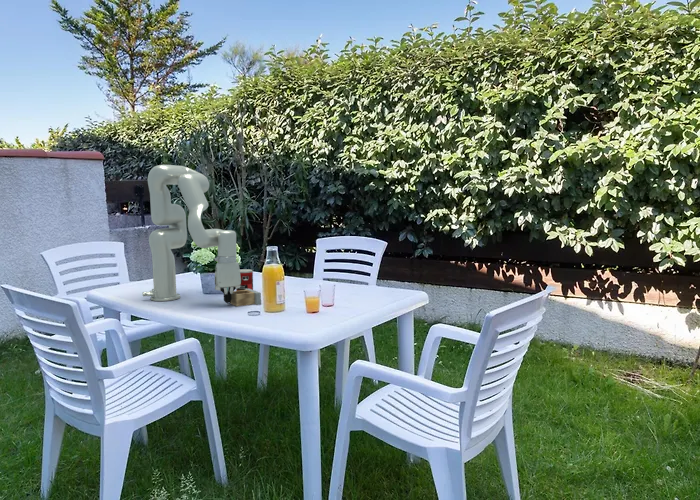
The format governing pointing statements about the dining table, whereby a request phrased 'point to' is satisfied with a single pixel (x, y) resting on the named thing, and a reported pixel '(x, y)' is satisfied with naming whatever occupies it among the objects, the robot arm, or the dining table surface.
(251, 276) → the canned food
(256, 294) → the wall
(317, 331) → the dining table surface
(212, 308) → the dining table surface
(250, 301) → the wooden open box
